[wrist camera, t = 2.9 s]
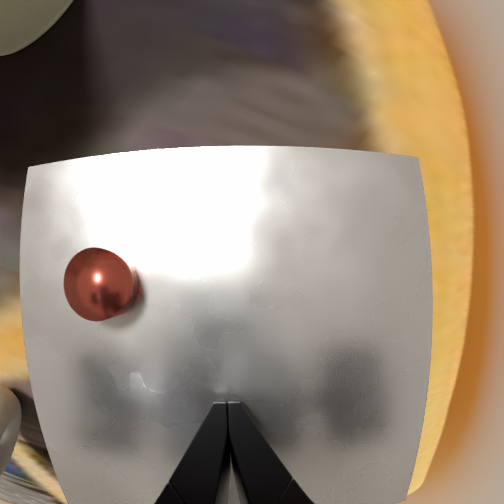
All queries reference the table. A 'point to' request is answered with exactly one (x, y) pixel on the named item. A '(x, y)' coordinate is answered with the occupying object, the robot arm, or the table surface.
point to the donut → (8, 425)
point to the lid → (228, 314)
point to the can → (27, 21)
